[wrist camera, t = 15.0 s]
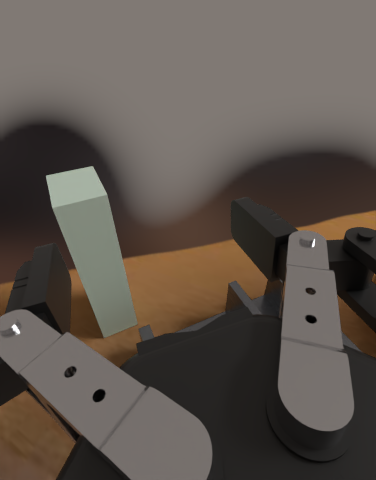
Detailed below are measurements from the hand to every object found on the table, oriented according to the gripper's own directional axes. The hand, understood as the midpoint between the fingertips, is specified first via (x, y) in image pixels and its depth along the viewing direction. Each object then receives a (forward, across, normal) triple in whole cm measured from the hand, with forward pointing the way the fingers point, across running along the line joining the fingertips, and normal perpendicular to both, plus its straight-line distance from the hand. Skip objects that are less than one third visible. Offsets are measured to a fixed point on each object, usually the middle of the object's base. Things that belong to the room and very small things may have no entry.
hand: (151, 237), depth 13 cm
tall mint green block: (+12, +4, +16) cm, 21 cm away
